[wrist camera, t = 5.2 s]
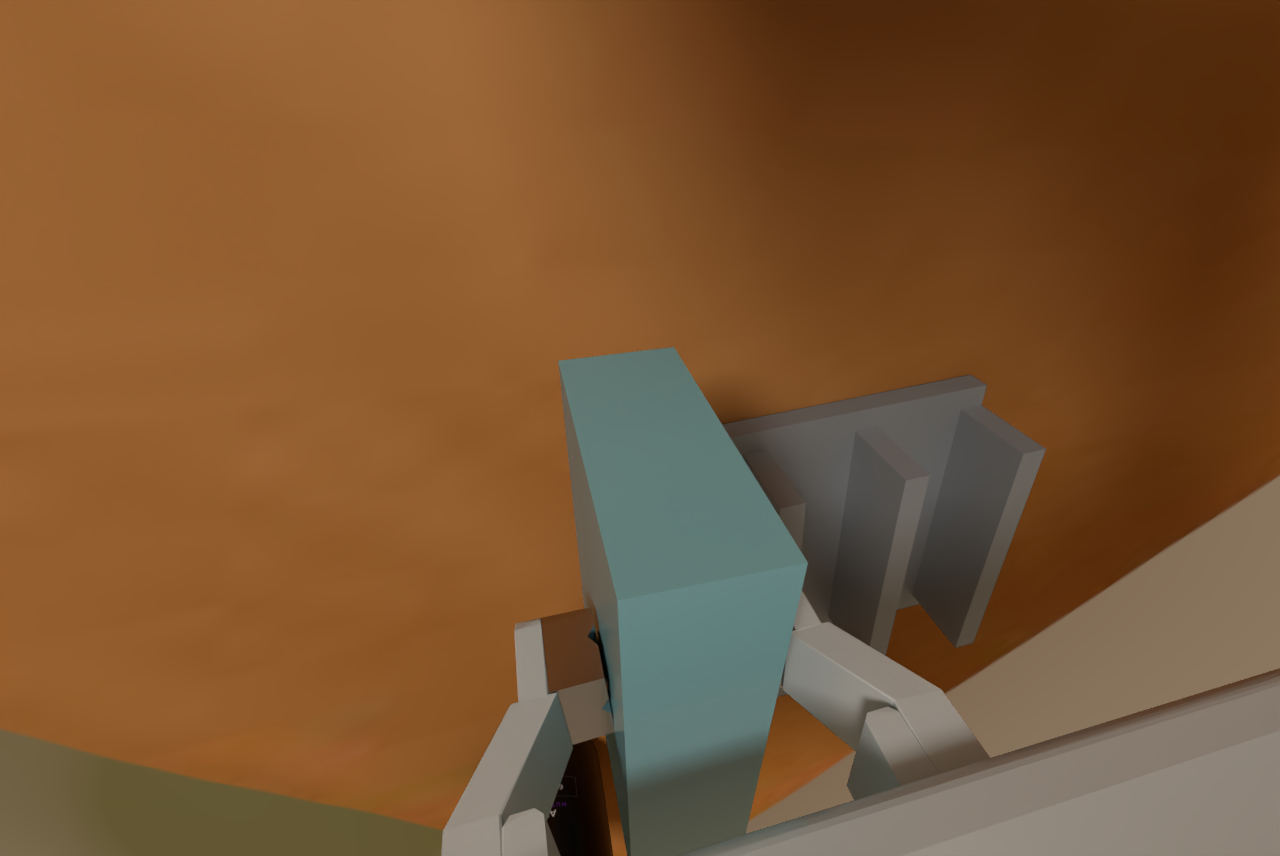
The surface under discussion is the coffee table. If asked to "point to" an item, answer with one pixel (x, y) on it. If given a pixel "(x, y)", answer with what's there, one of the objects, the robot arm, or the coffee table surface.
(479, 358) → the coffee table surface
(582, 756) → the supplement bottle
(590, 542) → the teal upright panel
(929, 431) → the rack
